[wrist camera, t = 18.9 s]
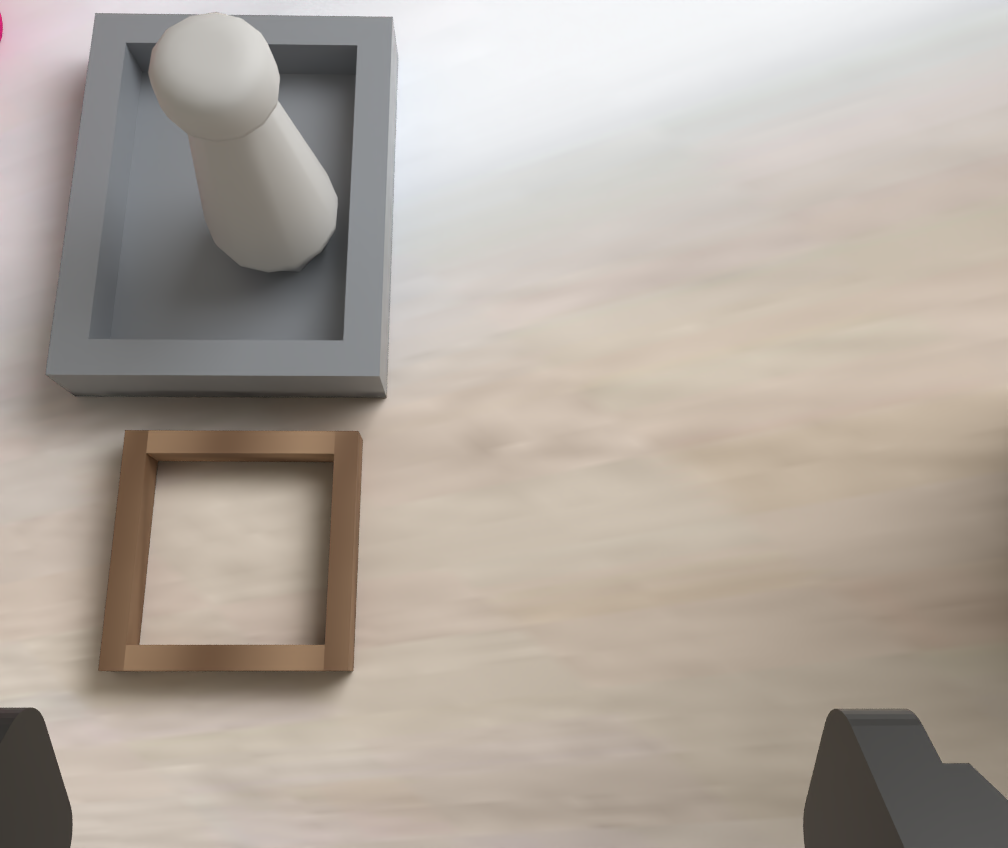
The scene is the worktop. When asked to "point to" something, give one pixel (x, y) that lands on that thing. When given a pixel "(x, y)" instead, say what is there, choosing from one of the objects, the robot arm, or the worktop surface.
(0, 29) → the pepper mill
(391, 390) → the worktop surface
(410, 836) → the worktop surface
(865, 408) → the worktop surface
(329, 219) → the salt shaker
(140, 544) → the wooden square frame
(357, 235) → the tray
